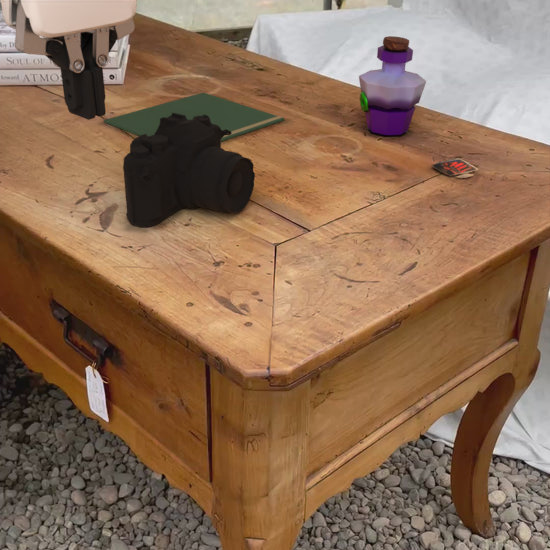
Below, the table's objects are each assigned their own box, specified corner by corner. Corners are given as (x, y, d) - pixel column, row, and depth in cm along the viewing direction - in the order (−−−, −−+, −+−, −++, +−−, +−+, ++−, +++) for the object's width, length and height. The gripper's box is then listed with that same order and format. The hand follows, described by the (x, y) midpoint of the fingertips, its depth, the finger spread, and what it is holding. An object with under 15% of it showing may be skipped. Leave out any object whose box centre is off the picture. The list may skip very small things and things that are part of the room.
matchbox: (427, 168, 91) (428, 164, 91) (455, 159, 94) (456, 155, 94) (458, 181, 88) (459, 177, 88) (486, 171, 91) (487, 167, 91)
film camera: (194, 247, 73) (192, 157, 69) (114, 222, 77) (107, 136, 73) (274, 192, 85) (276, 111, 80) (200, 173, 89) (199, 95, 84)
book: (185, 154, 94) (185, 151, 93) (103, 122, 103) (103, 119, 103) (284, 120, 105) (284, 118, 105) (203, 94, 114) (203, 92, 114)
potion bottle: (341, 125, 104) (347, 34, 98) (390, 115, 108) (399, 27, 102) (383, 145, 98) (393, 49, 92) (433, 134, 102) (446, 41, 96)
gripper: (109, -134, 64) (129, 87, 73) (-65, -129, 54) (-17, 125, 63) (170, -131, 59) (182, 103, 69) (-8, -124, 50) (35, 147, 59)
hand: (87, 113), depth 66 cm, fingers closed
